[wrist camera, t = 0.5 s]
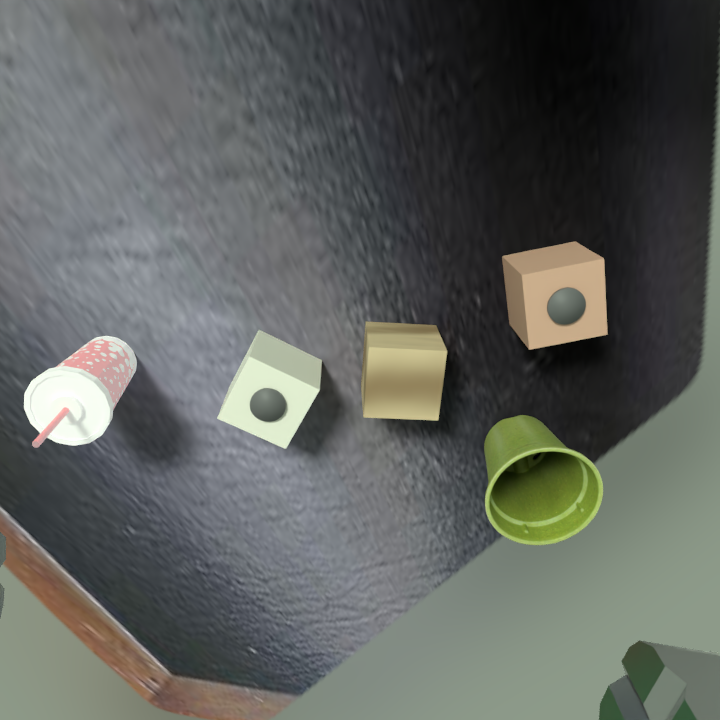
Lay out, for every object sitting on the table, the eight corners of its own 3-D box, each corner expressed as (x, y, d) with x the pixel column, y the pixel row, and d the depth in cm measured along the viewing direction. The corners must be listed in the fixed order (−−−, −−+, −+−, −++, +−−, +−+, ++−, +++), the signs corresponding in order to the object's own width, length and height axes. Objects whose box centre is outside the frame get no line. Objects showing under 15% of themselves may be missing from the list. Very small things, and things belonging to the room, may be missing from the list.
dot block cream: (259, 329, 52) (248, 357, 47) (321, 360, 54) (319, 391, 48) (229, 386, 54) (216, 420, 48) (291, 414, 56) (285, 451, 50)
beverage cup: (123, 316, 51) (51, 388, 39) (158, 378, 54) (101, 466, 41) (59, 342, 52) (-34, 421, 39) (96, 402, 54) (21, 496, 41)
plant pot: (529, 500, 60) (559, 561, 52) (446, 462, 58) (464, 520, 50) (586, 424, 57) (627, 476, 49) (500, 381, 55) (528, 429, 47)
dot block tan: (501, 256, 51) (523, 276, 45) (574, 241, 50) (605, 259, 44) (509, 323, 53) (530, 351, 47) (579, 310, 53) (609, 335, 47)
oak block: (365, 321, 52) (368, 347, 47) (435, 325, 53) (447, 351, 47) (361, 385, 55) (363, 417, 49) (428, 388, 55) (438, 420, 49)
